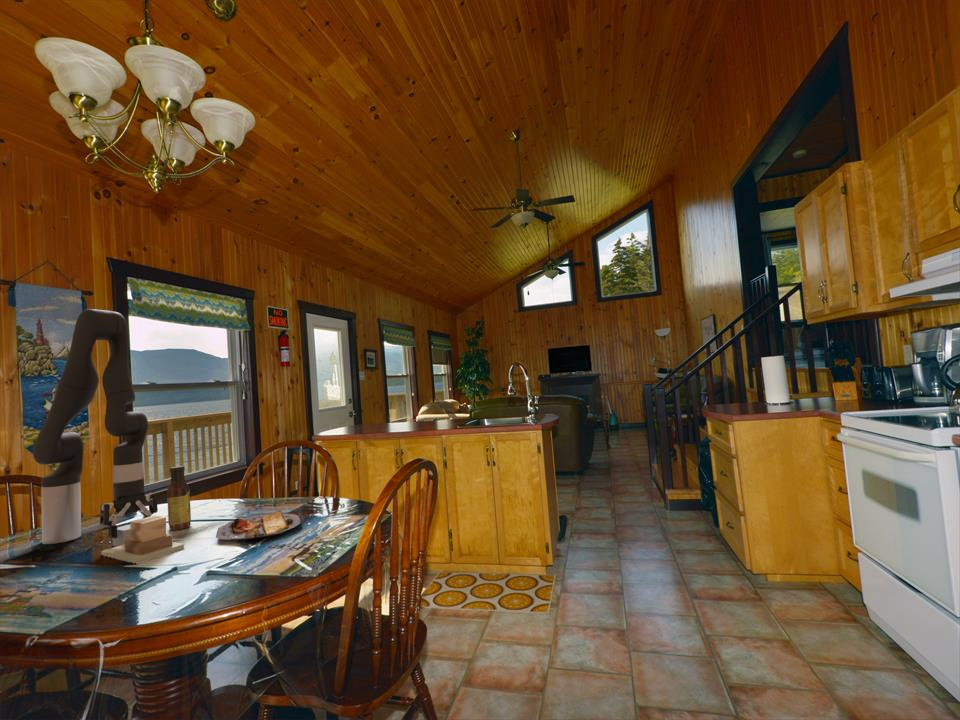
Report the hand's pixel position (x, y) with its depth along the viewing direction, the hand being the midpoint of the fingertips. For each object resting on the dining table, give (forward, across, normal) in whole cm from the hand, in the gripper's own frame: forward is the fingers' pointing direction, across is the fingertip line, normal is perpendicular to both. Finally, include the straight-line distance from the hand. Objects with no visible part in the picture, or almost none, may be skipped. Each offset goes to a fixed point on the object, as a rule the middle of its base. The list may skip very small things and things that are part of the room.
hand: (130, 533), depth 141 cm
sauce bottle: (+3, -15, -2) cm, 15 cm away
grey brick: (+3, 0, 0) cm, 3 cm away
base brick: (+2, +3, +16) cm, 16 cm away
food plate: (+4, -22, +28) cm, 36 cm away
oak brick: (-1, +3, +16) cm, 16 cm away
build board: (+3, +3, +12) cm, 13 cm away
